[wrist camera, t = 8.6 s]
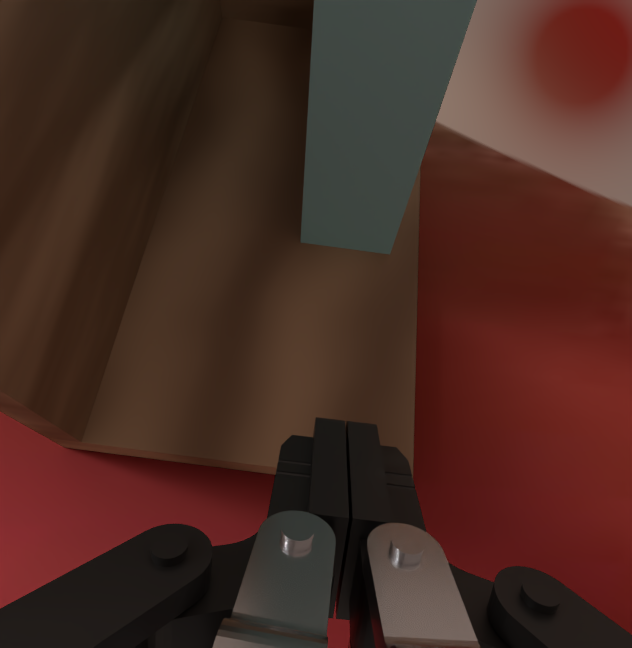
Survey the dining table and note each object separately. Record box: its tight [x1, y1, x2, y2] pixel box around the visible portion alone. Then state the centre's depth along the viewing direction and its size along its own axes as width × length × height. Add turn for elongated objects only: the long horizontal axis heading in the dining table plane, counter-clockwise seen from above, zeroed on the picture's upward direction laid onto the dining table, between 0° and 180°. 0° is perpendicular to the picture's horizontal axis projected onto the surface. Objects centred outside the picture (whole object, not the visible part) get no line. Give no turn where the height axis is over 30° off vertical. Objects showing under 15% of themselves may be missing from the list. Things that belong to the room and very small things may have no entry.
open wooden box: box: [0, 0, 421, 478], centre depth 18 cm, size 13×26×14 cm, turn 173°
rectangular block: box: [300, 0, 477, 254], centre depth 18 cm, size 4×11×14 cm, turn 173°
